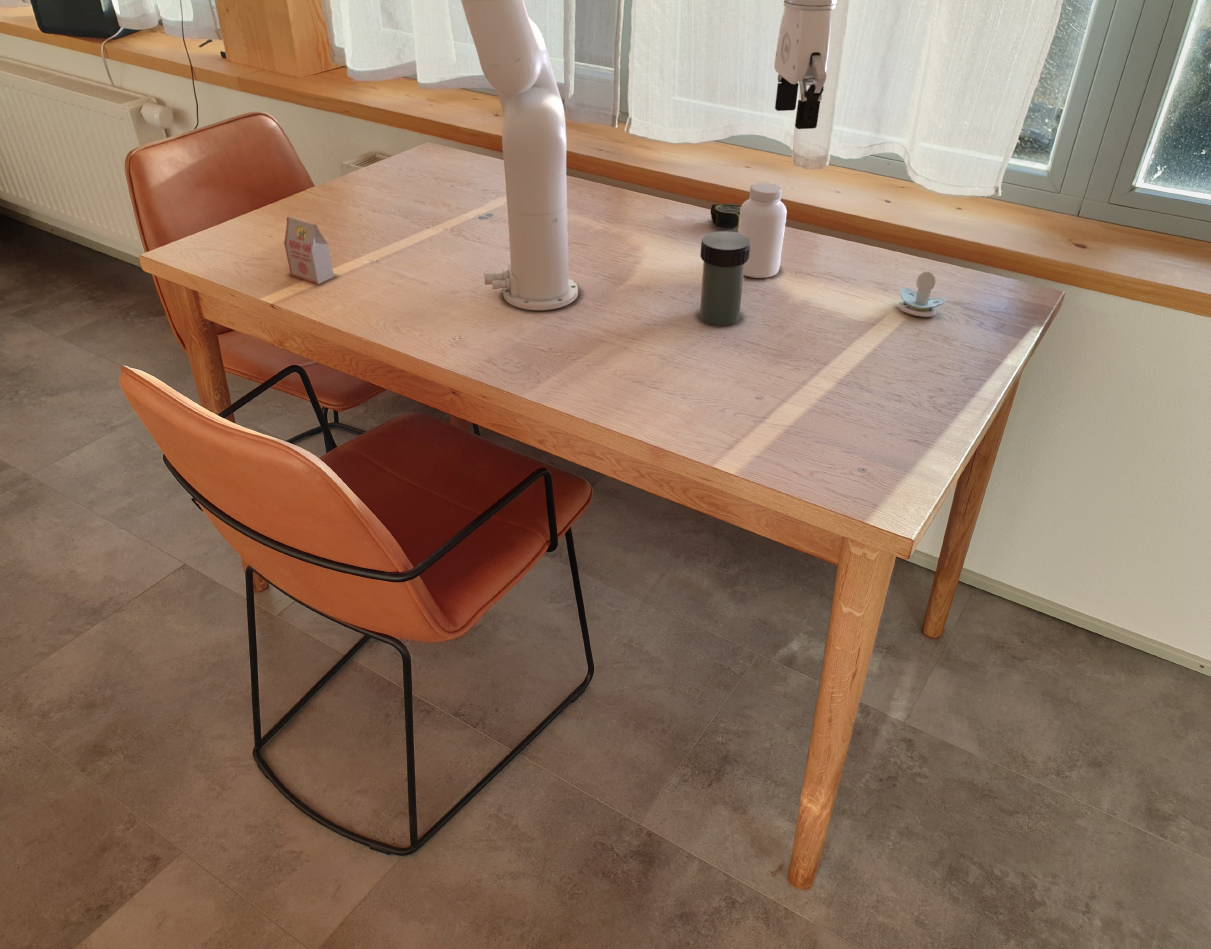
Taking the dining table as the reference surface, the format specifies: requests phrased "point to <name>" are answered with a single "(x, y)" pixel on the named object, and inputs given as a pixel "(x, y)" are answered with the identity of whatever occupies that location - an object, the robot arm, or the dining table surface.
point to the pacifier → (920, 297)
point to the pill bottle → (763, 229)
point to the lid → (725, 249)
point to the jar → (721, 294)
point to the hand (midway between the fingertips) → (795, 118)
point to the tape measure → (726, 215)
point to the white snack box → (307, 252)
